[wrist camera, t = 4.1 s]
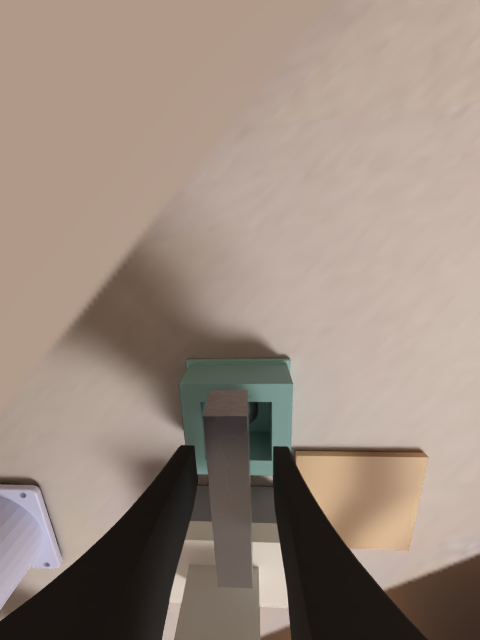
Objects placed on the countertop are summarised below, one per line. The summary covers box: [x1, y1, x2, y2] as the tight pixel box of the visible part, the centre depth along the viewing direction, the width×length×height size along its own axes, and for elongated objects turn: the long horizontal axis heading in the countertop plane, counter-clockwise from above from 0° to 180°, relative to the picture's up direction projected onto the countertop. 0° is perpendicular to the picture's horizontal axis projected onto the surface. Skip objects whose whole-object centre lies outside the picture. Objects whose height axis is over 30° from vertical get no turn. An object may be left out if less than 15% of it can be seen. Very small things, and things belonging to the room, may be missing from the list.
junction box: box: [190, 485, 277, 523], centre depth 17 cm, size 7×5×2 cm
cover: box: [169, 521, 288, 640], centre depth 13 cm, size 7×5×4 cm
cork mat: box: [295, 451, 429, 551], centre depth 17 cm, size 8×8×1 cm
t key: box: [203, 390, 258, 588], centre depth 12 cm, size 8×2×6 cm, turn 2°
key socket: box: [179, 358, 293, 476], centre depth 14 cm, size 6×6×2 cm
